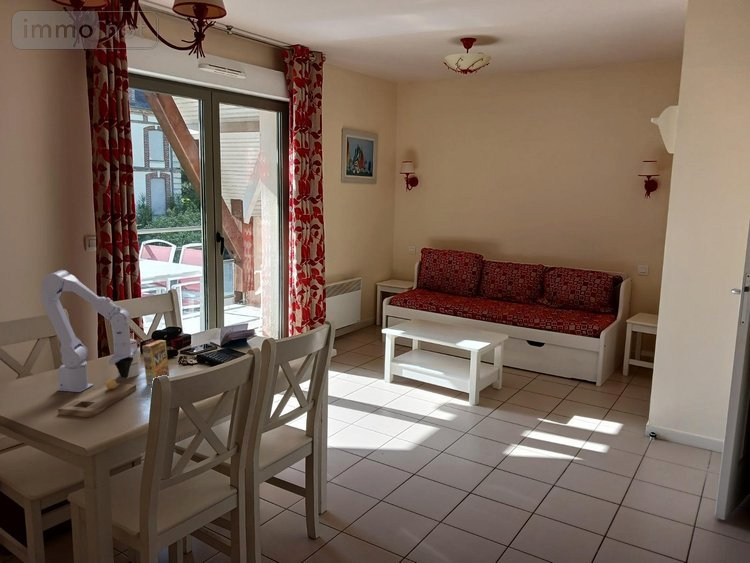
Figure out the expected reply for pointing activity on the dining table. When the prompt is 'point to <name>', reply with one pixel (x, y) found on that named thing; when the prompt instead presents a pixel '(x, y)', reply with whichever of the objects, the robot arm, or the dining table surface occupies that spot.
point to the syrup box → (134, 365)
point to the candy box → (155, 360)
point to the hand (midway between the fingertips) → (124, 377)
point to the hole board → (96, 400)
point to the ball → (111, 384)
